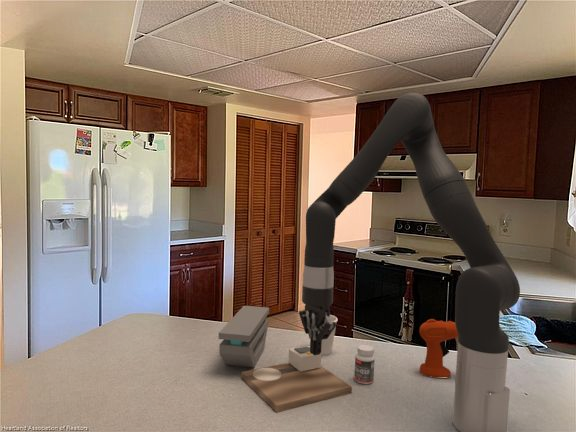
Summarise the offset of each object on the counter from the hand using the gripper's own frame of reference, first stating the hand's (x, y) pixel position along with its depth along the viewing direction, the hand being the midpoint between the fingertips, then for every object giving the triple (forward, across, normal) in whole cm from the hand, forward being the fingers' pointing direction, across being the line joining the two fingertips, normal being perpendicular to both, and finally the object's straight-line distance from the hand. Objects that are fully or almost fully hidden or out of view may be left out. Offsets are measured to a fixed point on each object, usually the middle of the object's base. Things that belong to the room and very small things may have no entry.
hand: (315, 353), depth 107 cm
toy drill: (+7, -13, -34) cm, 38 cm away
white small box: (+5, +6, -1) cm, 7 cm away
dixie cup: (+7, +15, -13) cm, 21 cm away
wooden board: (+7, 0, +5) cm, 9 cm away
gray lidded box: (+7, +20, +9) cm, 23 cm away
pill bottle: (+7, -5, -12) cm, 14 cm away
